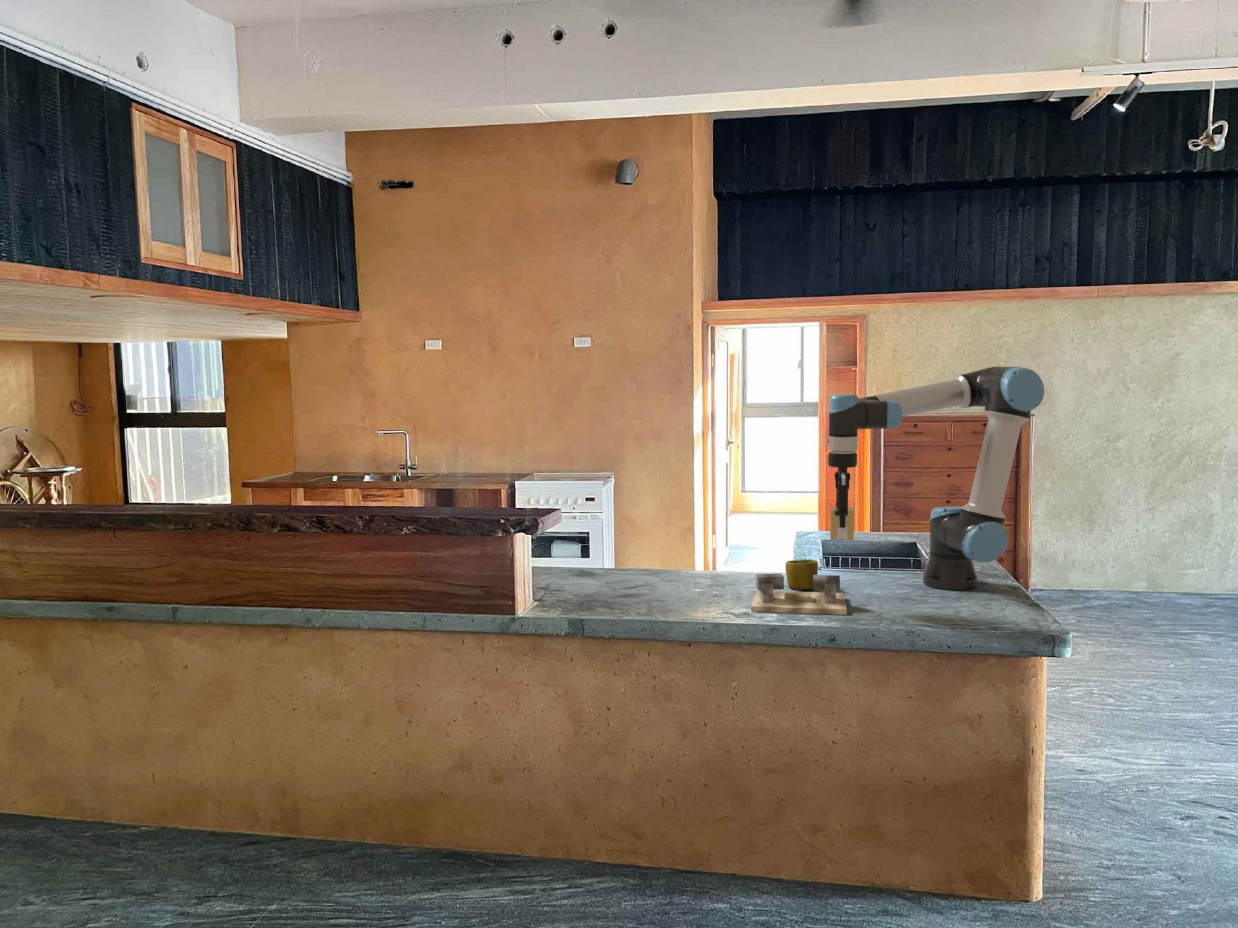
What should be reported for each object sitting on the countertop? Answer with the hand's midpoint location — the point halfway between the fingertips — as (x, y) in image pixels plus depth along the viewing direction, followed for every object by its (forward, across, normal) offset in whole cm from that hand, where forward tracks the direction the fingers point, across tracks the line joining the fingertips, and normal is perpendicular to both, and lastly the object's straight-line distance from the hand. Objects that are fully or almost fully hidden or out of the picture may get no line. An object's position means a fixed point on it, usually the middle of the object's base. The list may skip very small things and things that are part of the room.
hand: (841, 536), depth 243 cm
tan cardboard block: (0, 0, 0) cm, 0 cm away
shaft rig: (+19, +1, -11) cm, 22 cm away
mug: (+20, -19, -10) cm, 29 cm away
